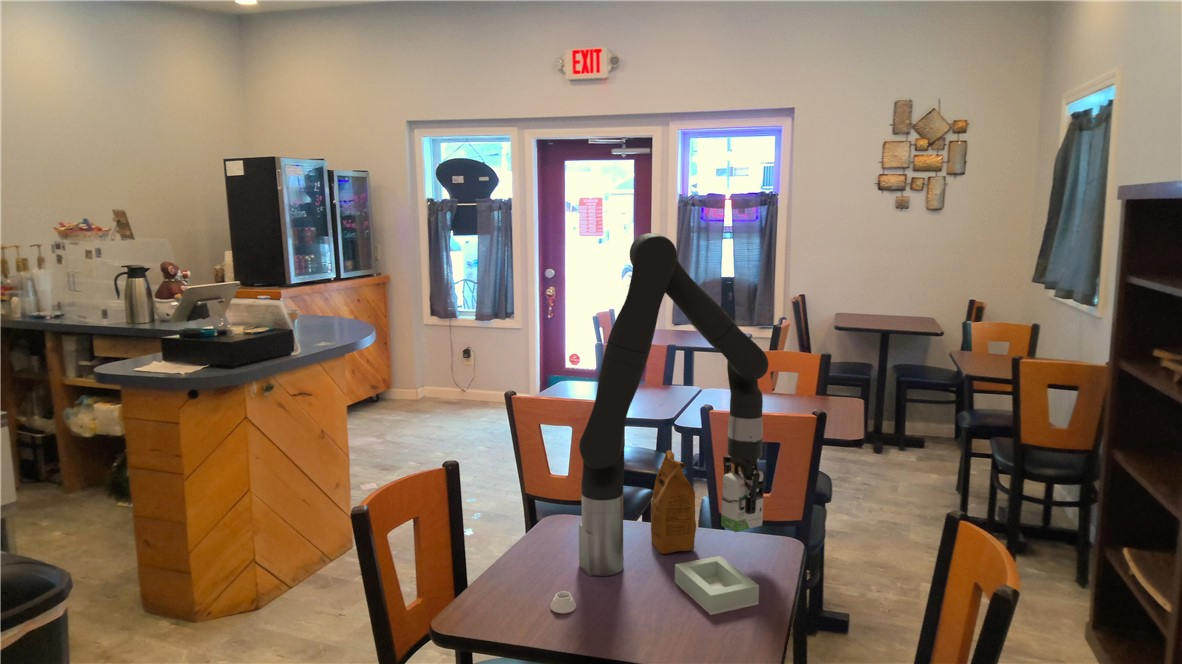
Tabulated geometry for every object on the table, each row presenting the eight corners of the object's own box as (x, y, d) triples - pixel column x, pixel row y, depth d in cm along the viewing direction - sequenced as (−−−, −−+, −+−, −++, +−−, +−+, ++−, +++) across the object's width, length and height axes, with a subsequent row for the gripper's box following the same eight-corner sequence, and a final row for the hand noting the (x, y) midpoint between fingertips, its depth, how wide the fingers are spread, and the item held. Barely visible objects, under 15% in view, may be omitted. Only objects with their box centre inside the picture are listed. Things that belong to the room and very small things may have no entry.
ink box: (735, 533, 166) (737, 481, 164) (719, 525, 170) (721, 474, 168) (763, 525, 171) (765, 474, 169) (747, 517, 175) (749, 468, 173)
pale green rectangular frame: (710, 614, 148) (711, 595, 148) (674, 582, 162) (674, 564, 162) (758, 604, 152) (759, 585, 152) (719, 573, 166) (719, 555, 166)
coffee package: (686, 533, 188) (687, 447, 185) (699, 554, 176) (700, 462, 173) (646, 535, 187) (647, 448, 184) (656, 556, 175) (657, 464, 172)
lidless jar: (571, 600, 155) (547, 605, 153) (570, 587, 154) (547, 591, 153) (579, 612, 150) (555, 617, 149) (579, 598, 150) (555, 603, 148)
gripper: (713, 428, 173) (711, 499, 175) (748, 445, 159) (746, 522, 162) (741, 425, 175) (739, 495, 178) (778, 442, 162) (775, 517, 164)
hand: (742, 508), depth 170 cm, fingers closed on ink box, 5 cm apart
